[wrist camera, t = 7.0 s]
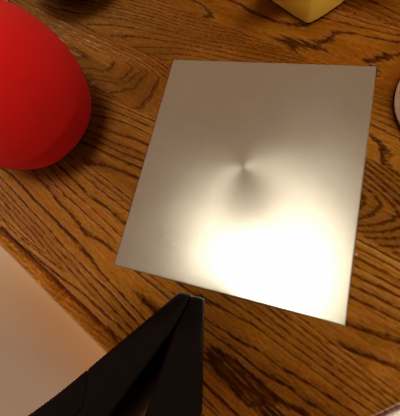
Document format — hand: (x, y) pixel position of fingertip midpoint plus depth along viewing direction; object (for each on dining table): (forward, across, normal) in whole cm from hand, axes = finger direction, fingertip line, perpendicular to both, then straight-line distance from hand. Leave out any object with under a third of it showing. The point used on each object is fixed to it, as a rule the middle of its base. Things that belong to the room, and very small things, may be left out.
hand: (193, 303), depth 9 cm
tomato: (+17, +22, +1) cm, 28 cm away
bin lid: (+8, 0, -1) cm, 9 cm away
